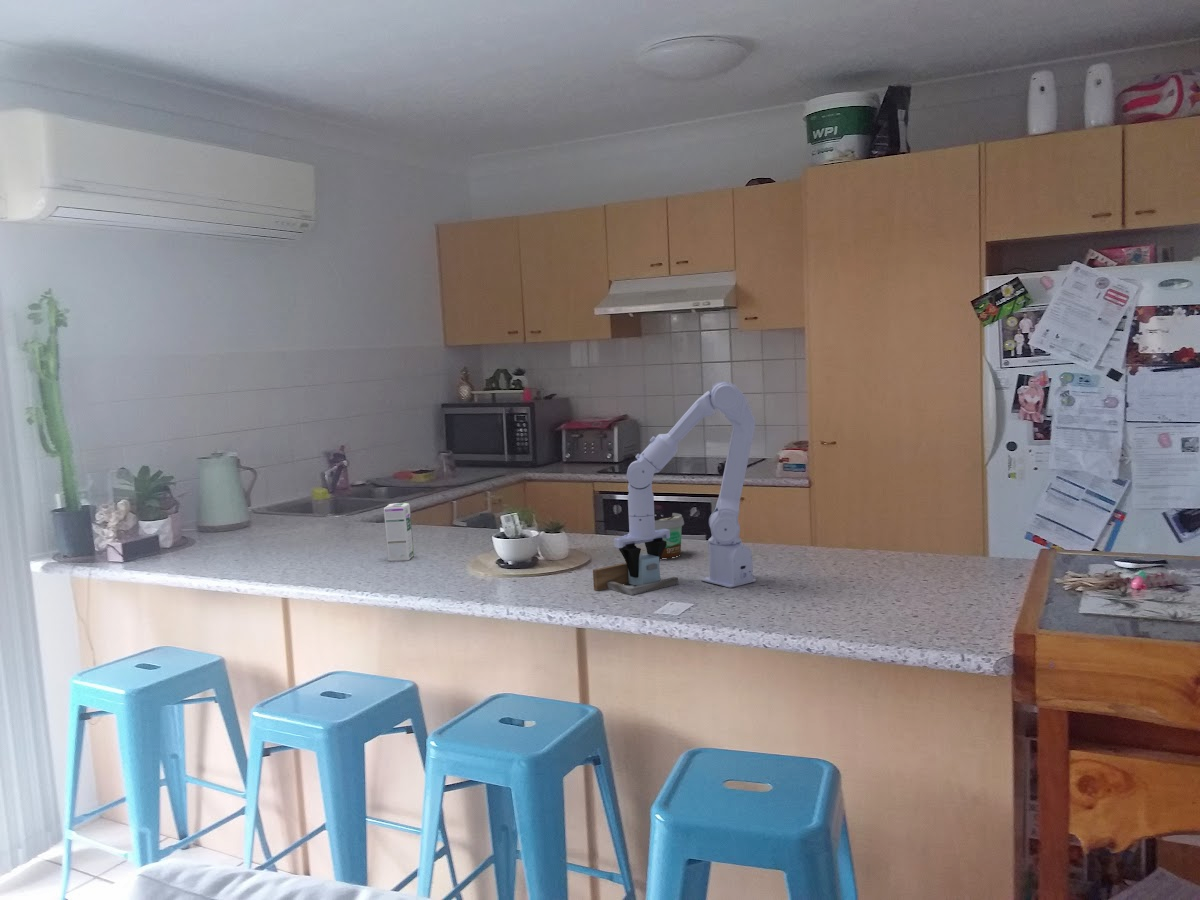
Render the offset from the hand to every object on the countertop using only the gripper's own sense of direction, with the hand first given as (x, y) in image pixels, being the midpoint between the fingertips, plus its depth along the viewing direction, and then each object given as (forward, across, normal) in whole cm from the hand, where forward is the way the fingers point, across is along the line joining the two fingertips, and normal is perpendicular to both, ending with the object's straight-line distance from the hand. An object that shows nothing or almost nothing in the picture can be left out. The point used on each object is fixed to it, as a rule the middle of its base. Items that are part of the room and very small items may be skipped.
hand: (643, 574), depth 212 cm
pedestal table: (+2, +3, +1) cm, 4 cm away
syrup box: (+2, +27, -68) cm, 73 cm away
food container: (+2, -22, -16) cm, 28 cm away
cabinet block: (+2, 0, 0) cm, 2 cm away
